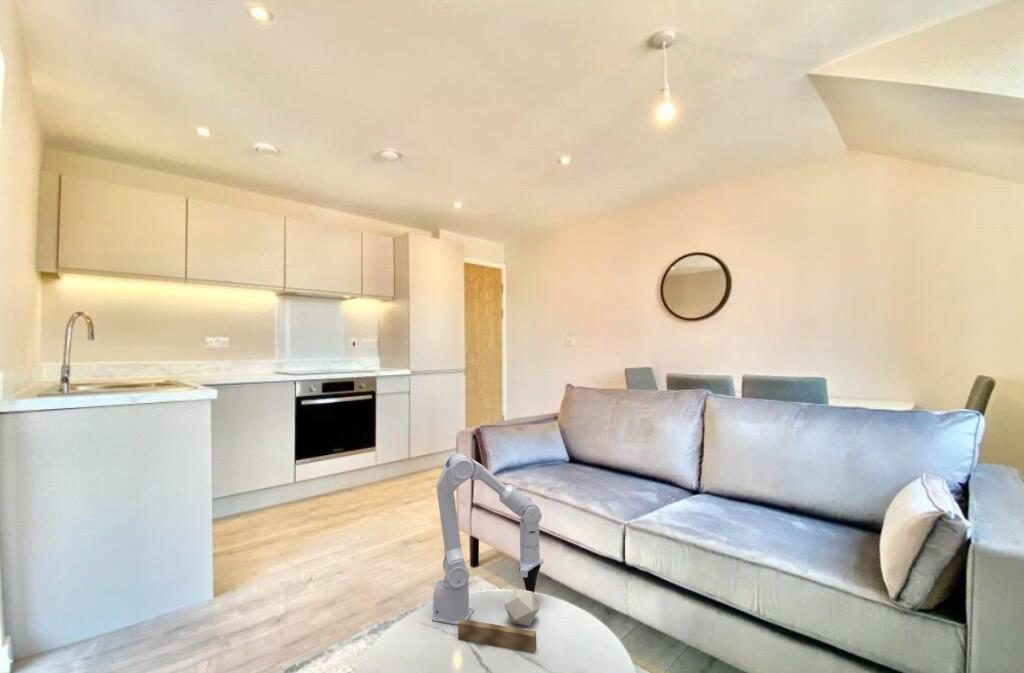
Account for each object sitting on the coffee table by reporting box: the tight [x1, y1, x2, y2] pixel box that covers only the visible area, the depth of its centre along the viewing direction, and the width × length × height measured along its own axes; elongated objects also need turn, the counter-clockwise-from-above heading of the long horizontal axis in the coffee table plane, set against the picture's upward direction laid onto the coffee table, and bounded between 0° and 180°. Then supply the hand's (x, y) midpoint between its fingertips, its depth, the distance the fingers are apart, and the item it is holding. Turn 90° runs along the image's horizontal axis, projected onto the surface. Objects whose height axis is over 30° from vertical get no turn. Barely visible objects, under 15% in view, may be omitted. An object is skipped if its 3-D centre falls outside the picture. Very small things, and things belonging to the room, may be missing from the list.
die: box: [504, 587, 540, 628], centre depth 118 cm, size 8×9×10 cm
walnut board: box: [457, 619, 537, 654], centre depth 108 cm, size 20×2×4 cm, turn 73°
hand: (530, 591), depth 127 cm, fingers closed
